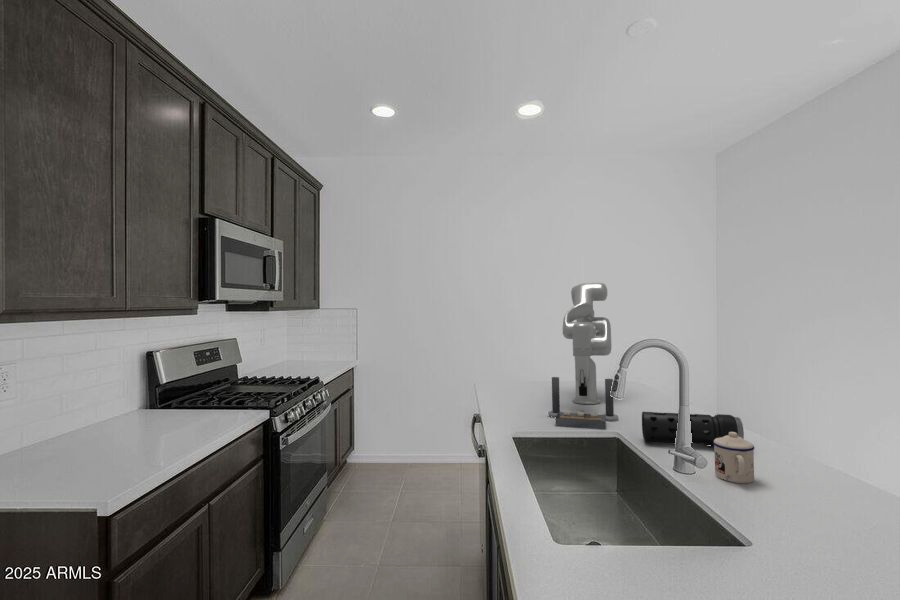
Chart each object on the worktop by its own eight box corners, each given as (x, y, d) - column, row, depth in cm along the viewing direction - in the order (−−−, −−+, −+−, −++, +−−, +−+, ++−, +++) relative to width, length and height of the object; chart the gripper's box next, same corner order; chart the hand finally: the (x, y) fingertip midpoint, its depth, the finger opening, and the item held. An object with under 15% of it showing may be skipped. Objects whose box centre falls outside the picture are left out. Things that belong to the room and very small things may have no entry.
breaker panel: (558, 419, 180) (558, 407, 180) (605, 422, 174) (605, 409, 174) (555, 426, 171) (555, 412, 171) (605, 429, 165) (605, 415, 165)
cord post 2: (601, 417, 183) (600, 377, 184) (618, 418, 181) (617, 378, 181) (601, 420, 177) (600, 380, 177) (618, 421, 175) (617, 380, 175)
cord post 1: (549, 413, 190) (548, 376, 191) (564, 414, 188) (564, 376, 188) (547, 417, 184) (546, 378, 185) (563, 418, 182) (562, 379, 182)
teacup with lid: (710, 469, 122) (709, 427, 123) (749, 473, 119) (747, 429, 120) (721, 486, 111) (720, 439, 111) (764, 490, 108) (763, 442, 108)
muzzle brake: (642, 438, 153) (641, 407, 154) (735, 444, 145) (734, 412, 145) (645, 446, 144) (644, 414, 144) (745, 453, 136) (744, 419, 136)
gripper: (574, 350, 199) (575, 392, 199) (571, 354, 185) (572, 398, 185) (592, 350, 196) (593, 392, 196) (590, 354, 182) (591, 399, 182)
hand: (583, 395), depth 190 cm, fingers closed
